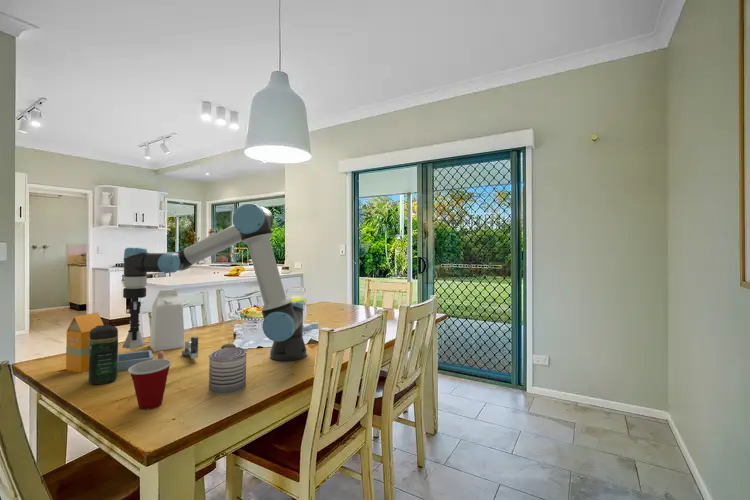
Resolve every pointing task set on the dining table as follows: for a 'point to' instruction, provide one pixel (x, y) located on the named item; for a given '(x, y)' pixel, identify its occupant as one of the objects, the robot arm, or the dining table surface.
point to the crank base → (185, 353)
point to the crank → (192, 347)
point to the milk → (167, 321)
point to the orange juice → (80, 341)
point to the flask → (127, 341)
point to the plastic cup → (150, 381)
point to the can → (227, 371)
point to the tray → (132, 359)
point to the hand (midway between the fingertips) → (133, 345)
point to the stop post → (161, 355)
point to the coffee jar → (103, 354)
